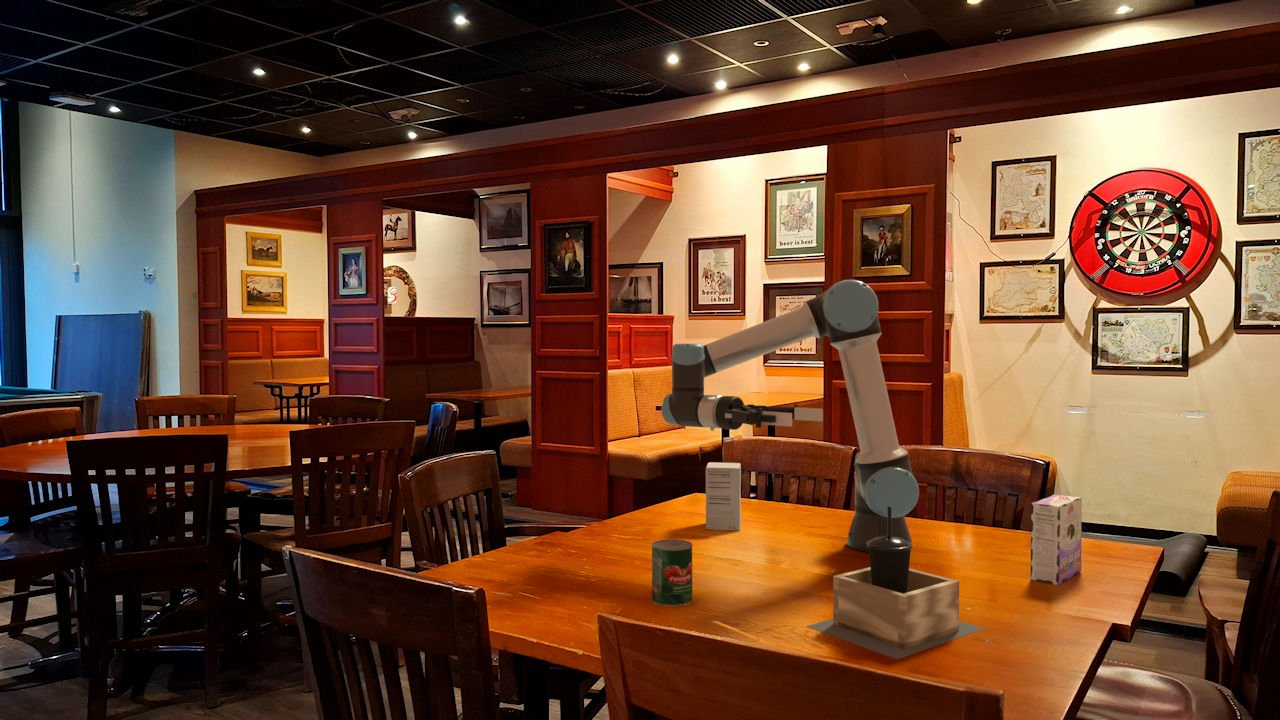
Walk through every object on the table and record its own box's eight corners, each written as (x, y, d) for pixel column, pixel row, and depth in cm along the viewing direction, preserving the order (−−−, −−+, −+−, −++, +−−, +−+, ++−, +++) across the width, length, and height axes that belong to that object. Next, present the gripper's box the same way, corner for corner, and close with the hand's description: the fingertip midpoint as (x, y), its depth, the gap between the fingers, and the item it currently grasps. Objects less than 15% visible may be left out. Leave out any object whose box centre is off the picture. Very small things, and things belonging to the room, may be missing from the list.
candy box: (1053, 567, 187) (1054, 493, 186) (1082, 572, 182) (1083, 496, 182) (1029, 580, 177) (1029, 501, 177) (1058, 585, 173) (1059, 505, 172)
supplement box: (707, 522, 234) (707, 461, 233) (741, 523, 233) (741, 462, 232) (705, 530, 224) (705, 466, 224) (740, 531, 223) (740, 467, 223)
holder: (887, 608, 157) (887, 562, 157) (959, 630, 145) (959, 581, 145) (833, 624, 149) (833, 576, 148) (904, 649, 136) (904, 596, 136)
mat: (894, 603, 162) (894, 601, 162) (985, 630, 146) (985, 628, 146) (806, 628, 148) (806, 626, 148) (896, 661, 132) (897, 659, 132)
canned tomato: (679, 609, 158) (679, 550, 158) (644, 602, 163) (643, 545, 162) (699, 598, 165) (699, 542, 165) (665, 592, 169) (664, 537, 169)
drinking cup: (860, 614, 151) (860, 503, 151) (902, 613, 152) (902, 502, 151) (875, 629, 143) (875, 511, 143) (919, 627, 144) (919, 510, 144)
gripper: (751, 424, 202) (833, 430, 189) (690, 433, 183) (777, 440, 169) (751, 393, 202) (833, 396, 188) (690, 398, 182) (777, 403, 169)
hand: (807, 417), depth 179 cm, fingers open, 13 cm apart
